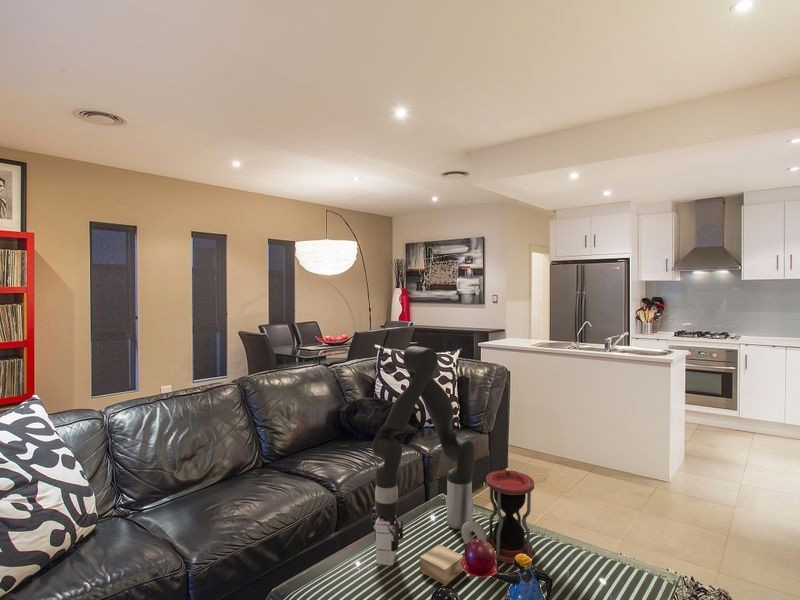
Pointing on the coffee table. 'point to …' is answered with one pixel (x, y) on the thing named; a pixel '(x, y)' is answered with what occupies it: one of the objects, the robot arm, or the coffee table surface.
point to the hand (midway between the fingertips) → (386, 544)
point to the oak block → (441, 564)
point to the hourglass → (509, 514)
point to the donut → (475, 528)
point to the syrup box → (384, 543)
